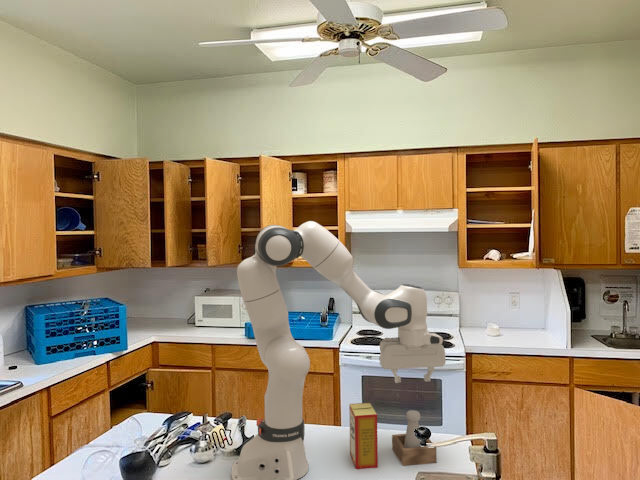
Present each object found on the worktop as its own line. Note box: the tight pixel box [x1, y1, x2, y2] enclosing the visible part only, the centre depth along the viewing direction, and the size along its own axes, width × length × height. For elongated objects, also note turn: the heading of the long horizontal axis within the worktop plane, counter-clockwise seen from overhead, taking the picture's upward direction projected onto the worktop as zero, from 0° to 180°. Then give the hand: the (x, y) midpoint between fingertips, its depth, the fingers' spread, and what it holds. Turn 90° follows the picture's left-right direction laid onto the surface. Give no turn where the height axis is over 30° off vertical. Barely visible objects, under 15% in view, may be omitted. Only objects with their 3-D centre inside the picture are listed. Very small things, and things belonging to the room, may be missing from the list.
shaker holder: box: [391, 433, 437, 467], centre depth 137 cm, size 10×10×5 cm
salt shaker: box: [404, 409, 421, 448], centre depth 137 cm, size 6×6×13 cm
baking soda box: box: [349, 402, 379, 470], centre depth 135 cm, size 10×6×16 cm
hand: (412, 381), depth 137 cm, fingers open, 8 cm apart
